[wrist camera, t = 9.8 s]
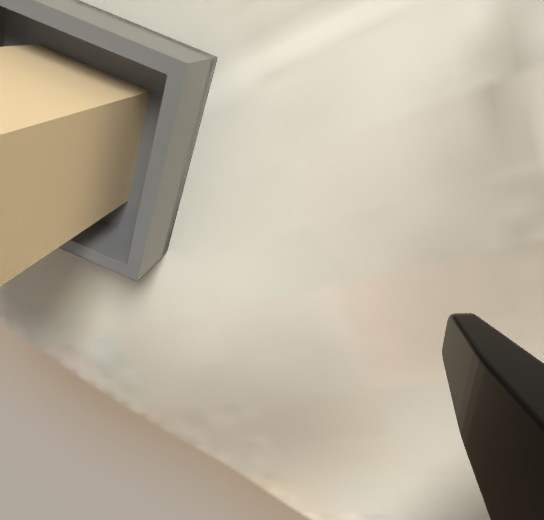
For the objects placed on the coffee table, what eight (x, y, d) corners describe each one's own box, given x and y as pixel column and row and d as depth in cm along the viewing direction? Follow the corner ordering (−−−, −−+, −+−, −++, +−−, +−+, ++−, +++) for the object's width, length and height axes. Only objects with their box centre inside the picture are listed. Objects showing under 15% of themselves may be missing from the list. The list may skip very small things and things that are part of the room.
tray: (217, 57, 18) (188, 63, 16) (166, 251, 23) (137, 281, 20) (4, -31, 19) (-60, -39, 16) (-4, 178, 23) (-55, 198, 21)
